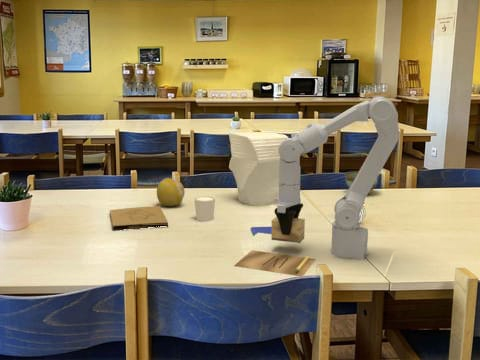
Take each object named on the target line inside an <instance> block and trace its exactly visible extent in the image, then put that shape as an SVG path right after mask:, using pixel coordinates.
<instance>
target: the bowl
mask: <svg viewBox="0 0 480 360" xmlns="http://www.w3.org/2000/svg"><path fill="white" fill-rule="evenodd" d="M359 171H360V170H358V171H357V170H353V171H347V172H345V173H344V180H345V184H346V186H347V188H348V189H349V188H350V187H351V185H352V183H353V181H354V180H355V178H356V176H357V174H358V172H359ZM379 177H380V174H379V175H378V177H377V179H376V180H375V182H374V184H373V186H372V187H371V189H370V191H369V193H370V192H372V191H373V190H374V189H375V188H376V186H377V184H378V180H379ZM369 193H368V194H367V196H368V195H369Z"/></svg>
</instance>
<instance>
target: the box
mask: <svg viewBox="0 0 480 360" xmlns="http://www.w3.org/2000/svg"><path fill="white" fill-rule="evenodd" d="M109 215H110V223H111V229H112V231H113V232H117V231H120V230H121V231H125V230H124V229H134V230H141V229H140V228H148V227H155V228H159V227H160V226H167V227H166V228H169V221H168V220H167V217H166V216H165V214H164V212H163V210H162V208H161V206H160V205H157V206H156V205H154V206H153V205H151V206H139V207H137V206H136V207H127V208H126V207H124V208H118V209H110V210H109ZM156 226H157V227H156ZM158 226H159V227H158Z"/></svg>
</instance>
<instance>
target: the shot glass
mask: <svg viewBox="0 0 480 360" xmlns="http://www.w3.org/2000/svg"><path fill="white" fill-rule="evenodd" d="M215 203H216V199H215V197H211V196H198V197H195V198H194V205H195V206H194V208H195V217H196V218H197V219H196V218H195V219H196V220H197V221H199V220H200V221H199V222H209V221H210V222H211V221H213V220H214V216H215V215H214V214H215Z"/></svg>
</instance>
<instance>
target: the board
mask: <svg viewBox="0 0 480 360" xmlns="http://www.w3.org/2000/svg"><path fill="white" fill-rule="evenodd" d="M305 258H306V256H305V257H304V256H303V257H302V256H297V255H296V256H295V255H290V254H282V253H275V252H268V251H261V250H254V249H252V250H250V251H249V252H248V253H247V254H246V255H244V256H243V257H242V258H241V259H240V260H239V261H238V262H237V263H235V264H234V265H233V266H234V267H238V268H243V269H244V268H245V269H250V270H257V271H262V272H263V271H264V272H270V273H277V274H283V275H290V276H297V277H302V276H303V277H304V276H305V274H306V273H307V271H308V270H309V269H310V268H311V267H312V266H313V264H314V263H315V261H316V260H317V258H312V257H310V259H309V260H308V261H307V263H306V264H305V265H304V266H303V268H302V269H301V270H300V271H299V272H298V273H295V270H296V269H297V267H298V266H299V265H300V264H301V263H302V261H303V260H304V259H305Z"/></svg>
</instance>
